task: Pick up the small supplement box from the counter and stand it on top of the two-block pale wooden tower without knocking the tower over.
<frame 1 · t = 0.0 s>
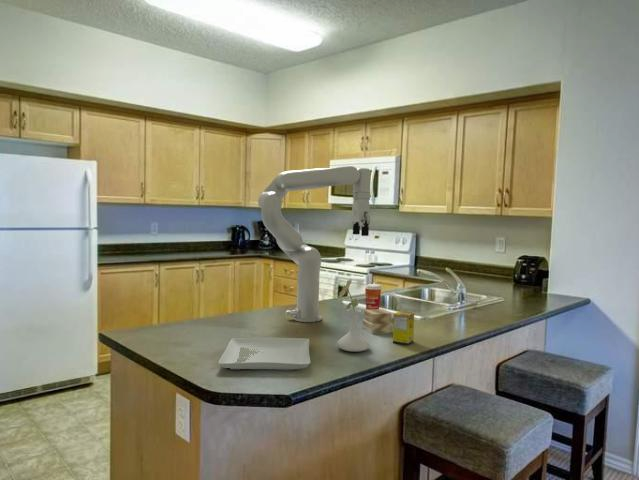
hand: (360, 235, 211), 37 cm above the worktop, tool pointing down, fingers open, 9 cm apart
birch base block: (377, 331, 191), on the worktop, touching maple top block
flower in vase: (351, 350, 163), on the worktop
supplement box: (403, 342, 174), on the worktop
square plate: (267, 360, 152), on the worktop
paper cup: (372, 315, 216), on the worktop
maple top block: (377, 321, 190), point 4 cm above the worktop, touching birch base block
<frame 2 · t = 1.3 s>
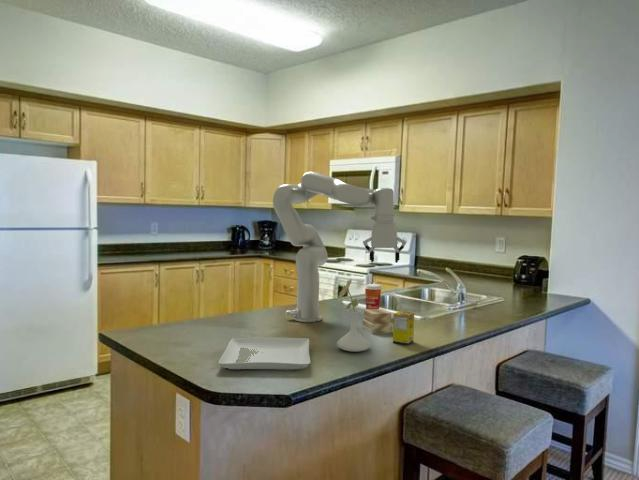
hand: (384, 262, 190), 27 cm above the worktop, tool pointing down, fingers open, 9 cm apart
birch base block: (377, 331, 191), on the worktop
maple top block: (377, 321, 190), point 4 cm above the worktop
everything else where it was.
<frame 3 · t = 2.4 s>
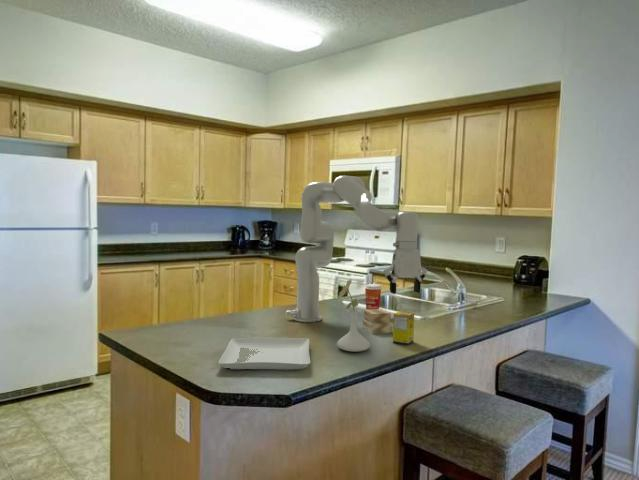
hand: (405, 292, 173), 18 cm above the worktop, tool pointing down, fingers open, 9 cm apart
birch base block: (377, 331, 191), on the worktop, touching maple top block
maple top block: (376, 321, 190), point 4 cm above the worktop, touching birch base block
everything else where it was.
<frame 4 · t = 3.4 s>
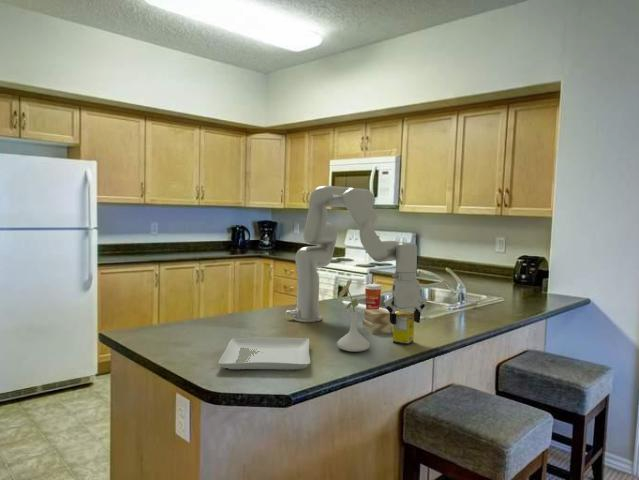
hand: (405, 322, 173), 7 cm above the worktop, tool pointing down, fingers open, 9 cm apart
nothing on the worktop moved.
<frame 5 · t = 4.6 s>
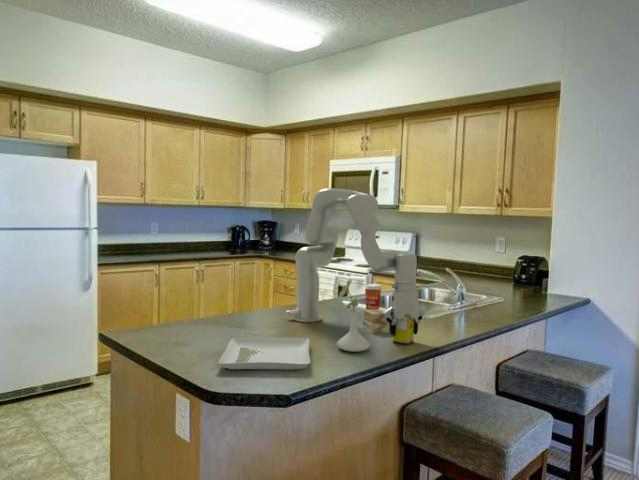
hand: (403, 334, 174), 3 cm above the worktop, tool pointing down, fingers closed on supplement box, 8 cm apart
supplement box: (403, 342, 174), on the worktop, touching gripper
everything else where it was.
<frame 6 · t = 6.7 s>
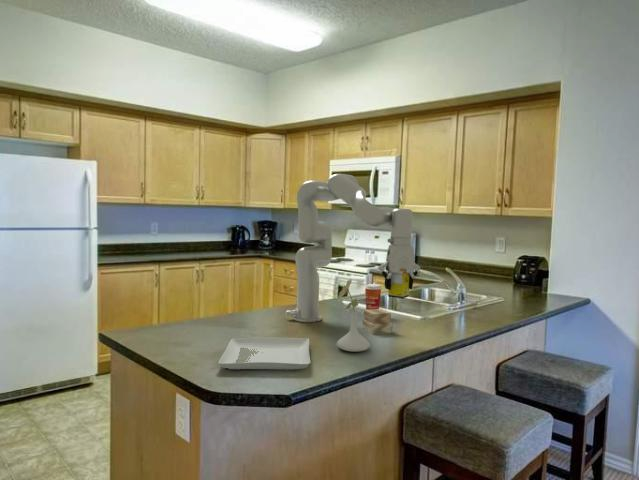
hand: (398, 288, 176), 19 cm above the worktop, tool pointing down, fingers closed on supplement box, 8 cm apart
supplement box: (398, 297, 176), point 16 cm above the worktop, touching gripper
everything else where it was.
when the fingers open (12 cm above the worktop, at t = 9.9 s): supplement box drops 1 cm, point 7 cm above the worktop.
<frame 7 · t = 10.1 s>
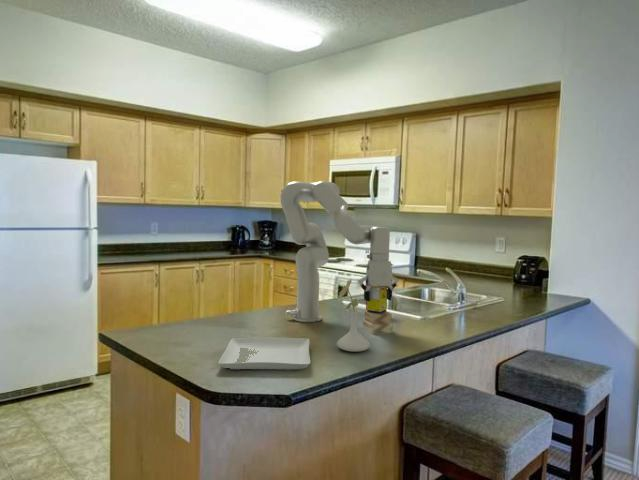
hand: (377, 300, 190), 12 cm above the worktop, tool pointing down, fingers open, 9 cm apart
supplement box: (376, 312, 190), point 7 cm above the worktop, touching gripper
everything else where it was.
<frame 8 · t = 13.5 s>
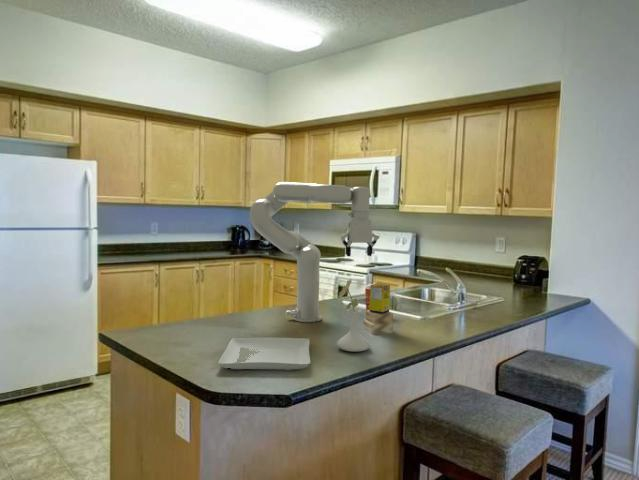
hand: (358, 255, 203), 28 cm above the worktop, tool pointing down, fingers open, 9 cm apart
supplement box: (379, 312, 189), point 7 cm above the worktop, touching maple top block
maple top block: (379, 321, 190), point 4 cm above the worktop, touching birch base block, supplement box
everything else where it was.
at the end: supplement box 0.2 cm from the maple top block (horizontally); supplement box point 7.5 cm above the worktop; supplement box tilted 1° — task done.
